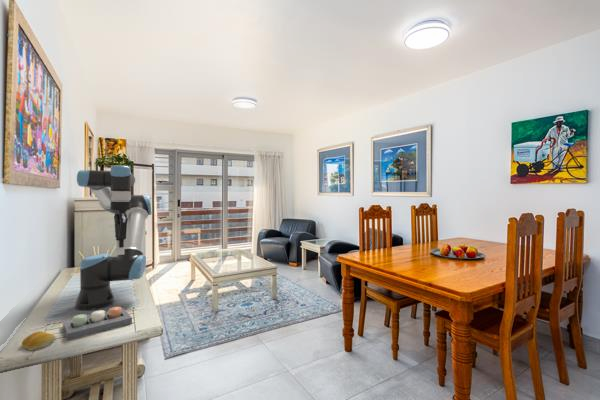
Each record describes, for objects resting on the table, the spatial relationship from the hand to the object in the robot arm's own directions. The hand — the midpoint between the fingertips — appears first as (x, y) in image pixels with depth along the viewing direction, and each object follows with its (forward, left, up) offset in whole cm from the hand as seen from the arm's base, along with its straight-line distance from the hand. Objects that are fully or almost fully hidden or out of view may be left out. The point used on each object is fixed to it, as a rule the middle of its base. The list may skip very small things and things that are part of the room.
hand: (120, 254), depth 132 cm
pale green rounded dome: (+7, -16, -25) cm, 30 cm away
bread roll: (+11, -28, -27) cm, 40 cm away
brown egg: (+7, -4, -25) cm, 26 cm away
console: (+7, -10, -26) cm, 29 cm away
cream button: (+7, -9, -25) cm, 28 cm away
